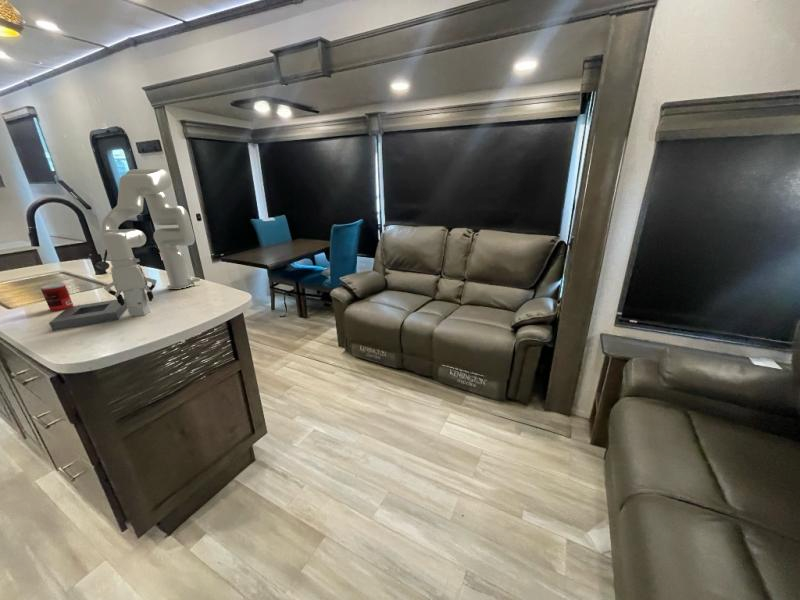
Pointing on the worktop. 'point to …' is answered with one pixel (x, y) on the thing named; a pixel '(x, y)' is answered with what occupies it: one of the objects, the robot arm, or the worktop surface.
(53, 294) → the canned food
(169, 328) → the worktop surface
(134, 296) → the skincare box
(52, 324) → the jig
